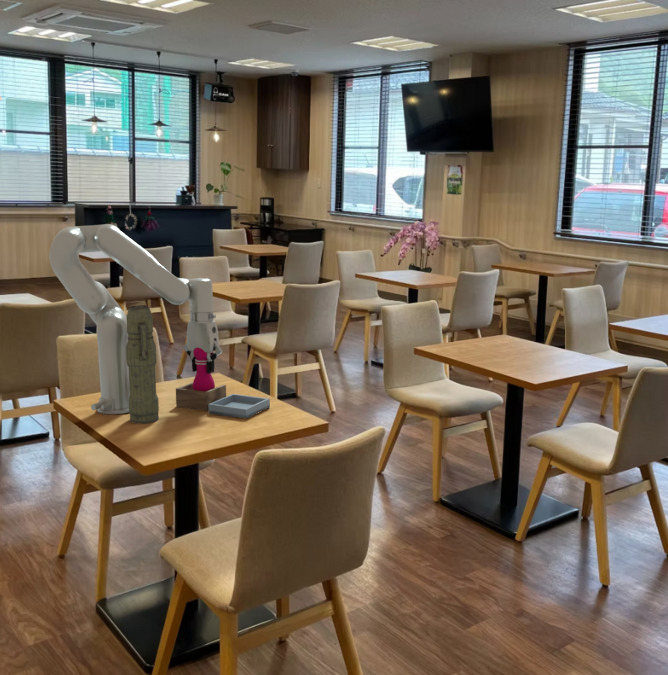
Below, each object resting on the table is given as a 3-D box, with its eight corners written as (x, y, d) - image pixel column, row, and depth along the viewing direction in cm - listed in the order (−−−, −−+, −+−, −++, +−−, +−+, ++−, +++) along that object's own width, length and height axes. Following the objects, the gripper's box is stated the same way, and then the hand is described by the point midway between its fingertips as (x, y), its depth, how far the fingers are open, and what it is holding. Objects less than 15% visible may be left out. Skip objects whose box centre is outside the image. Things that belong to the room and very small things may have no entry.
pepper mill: (188, 400, 262) (186, 340, 258) (200, 395, 269) (198, 336, 265) (207, 403, 259) (205, 342, 256) (219, 397, 266) (217, 338, 262)
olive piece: (152, 412, 254) (147, 302, 247) (164, 422, 244) (159, 307, 237) (124, 416, 249) (118, 305, 243) (135, 426, 239) (130, 310, 233)
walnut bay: (207, 411, 255) (206, 392, 254) (176, 406, 261) (175, 388, 260) (226, 402, 265) (225, 385, 264) (196, 398, 270) (195, 381, 269)
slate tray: (246, 418, 247) (246, 409, 246) (208, 413, 253) (208, 404, 252) (269, 407, 259) (269, 398, 259) (233, 402, 265) (232, 393, 265)
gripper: (230, 317, 258) (231, 372, 262) (186, 313, 266) (188, 366, 269) (216, 320, 252) (218, 377, 255) (172, 316, 259) (175, 371, 263)
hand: (203, 371), depth 262 cm, fingers closed on pepper mill, 5 cm apart
